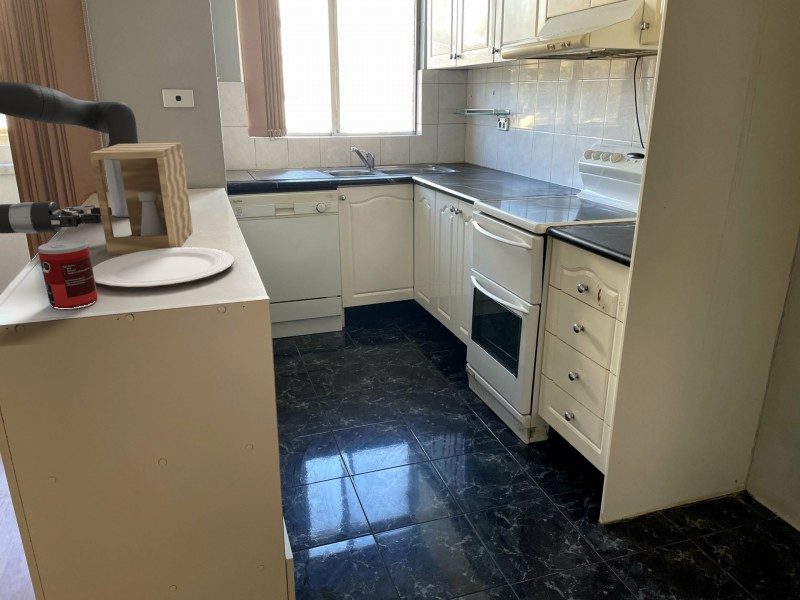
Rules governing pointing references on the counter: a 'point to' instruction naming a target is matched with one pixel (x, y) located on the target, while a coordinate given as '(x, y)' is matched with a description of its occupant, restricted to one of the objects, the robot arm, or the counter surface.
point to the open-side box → (143, 172)
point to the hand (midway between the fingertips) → (106, 214)
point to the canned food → (68, 273)
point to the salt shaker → (150, 214)
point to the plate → (161, 267)
